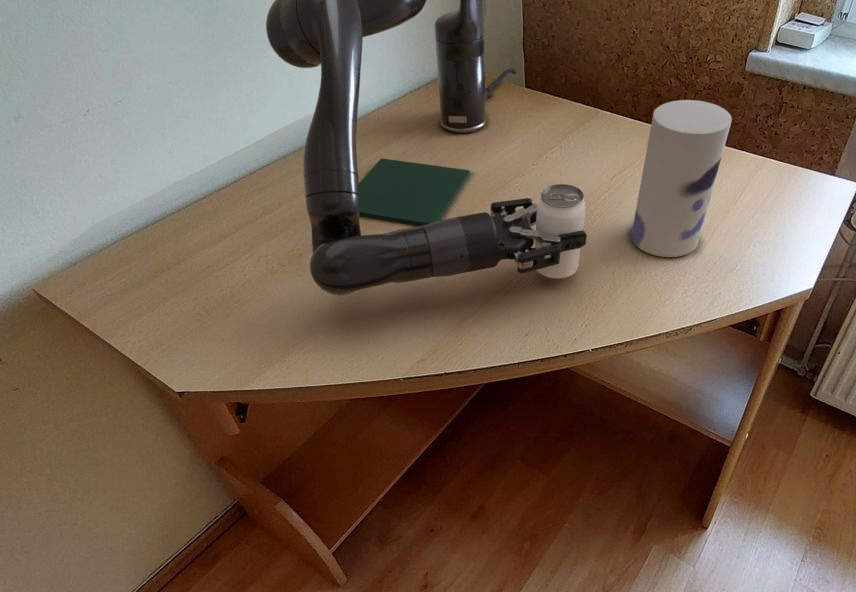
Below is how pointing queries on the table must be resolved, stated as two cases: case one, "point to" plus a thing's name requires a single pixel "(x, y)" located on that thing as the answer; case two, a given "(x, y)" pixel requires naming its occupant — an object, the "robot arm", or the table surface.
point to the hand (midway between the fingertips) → (575, 223)
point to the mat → (409, 191)
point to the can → (561, 224)
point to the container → (679, 176)
